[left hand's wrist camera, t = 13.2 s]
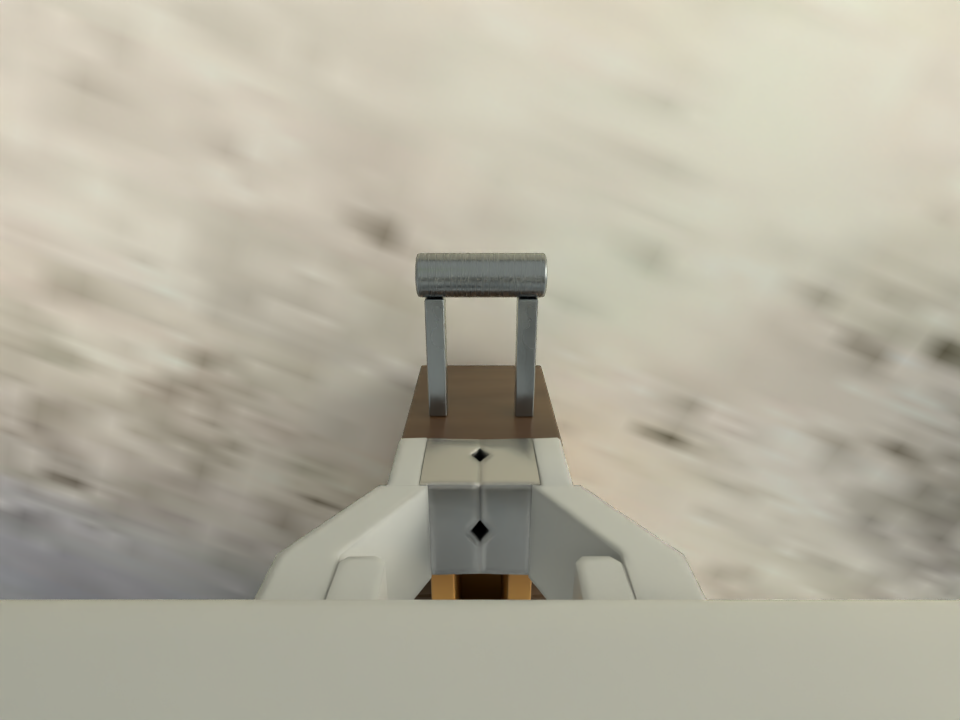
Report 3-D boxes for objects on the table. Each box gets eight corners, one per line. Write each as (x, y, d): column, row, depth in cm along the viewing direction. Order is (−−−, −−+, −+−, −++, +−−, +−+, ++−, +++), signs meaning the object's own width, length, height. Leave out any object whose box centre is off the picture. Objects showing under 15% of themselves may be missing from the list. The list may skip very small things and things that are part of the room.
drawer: (415, 232, 20) (388, 267, 14) (546, 232, 20) (574, 267, 14) (435, 686, 28) (423, 823, 23) (526, 686, 28) (538, 823, 23)
